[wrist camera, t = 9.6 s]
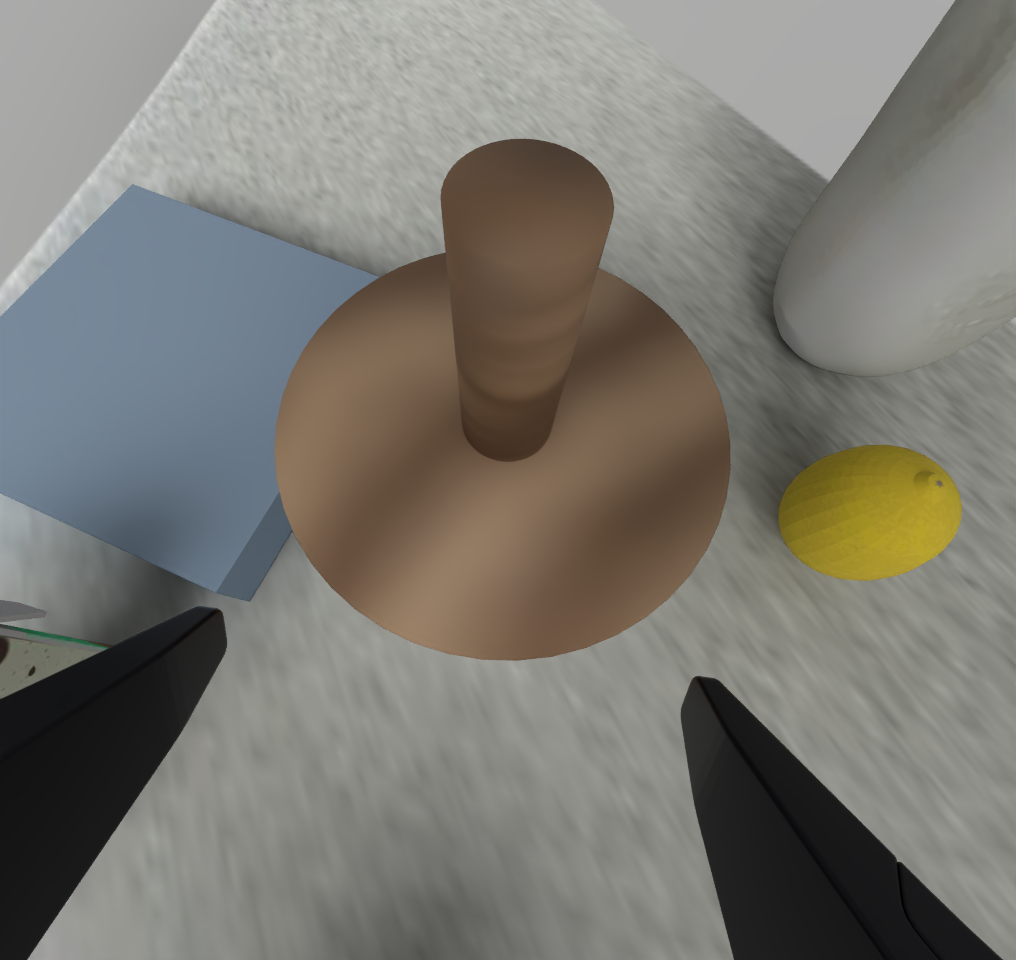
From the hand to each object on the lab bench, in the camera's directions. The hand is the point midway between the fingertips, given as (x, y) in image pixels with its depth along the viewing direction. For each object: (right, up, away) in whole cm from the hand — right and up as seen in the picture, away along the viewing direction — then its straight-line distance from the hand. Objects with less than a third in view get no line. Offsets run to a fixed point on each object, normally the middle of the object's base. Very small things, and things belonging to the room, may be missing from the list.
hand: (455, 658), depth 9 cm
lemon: (+16, 0, +16) cm, 22 cm away
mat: (-16, +8, +17) cm, 24 cm away
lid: (+1, +5, +9) cm, 10 cm away
